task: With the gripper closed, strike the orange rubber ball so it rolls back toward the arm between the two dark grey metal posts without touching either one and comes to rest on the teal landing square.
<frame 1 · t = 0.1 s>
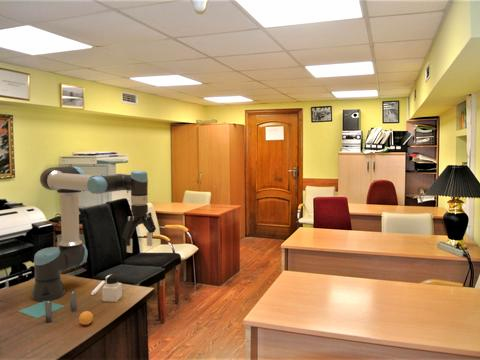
hand: (139, 249, 182), 28 cm above the table, tool pointing down, fingers open, 13 cm apart
marker: (97, 290, 205), on the table
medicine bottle: (112, 299, 193), on the table
ball: (86, 317, 165), on the table
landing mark: (41, 309, 180), on the table
post 2: (73, 310, 179), on the table
post 1: (48, 321, 168), on the table
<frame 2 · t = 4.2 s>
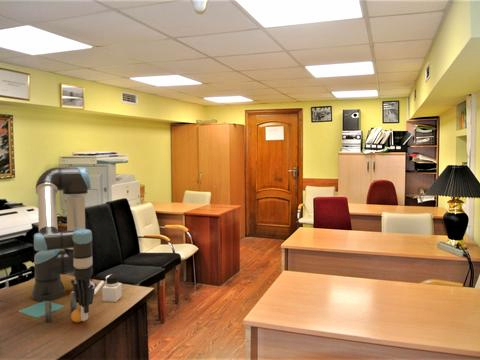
hand: (84, 319, 167), 2 cm above the table, tool pointing down, fingers closed
ball: (78, 315, 168), on the table, touching gripper
everything else where it was.
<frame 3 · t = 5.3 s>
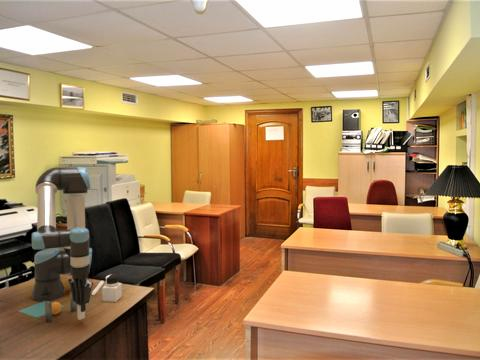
hand: (81, 318, 167), 2 cm above the table, tool pointing down, fingers closed
ball: (54, 308, 175), on the table
everything else where it was.
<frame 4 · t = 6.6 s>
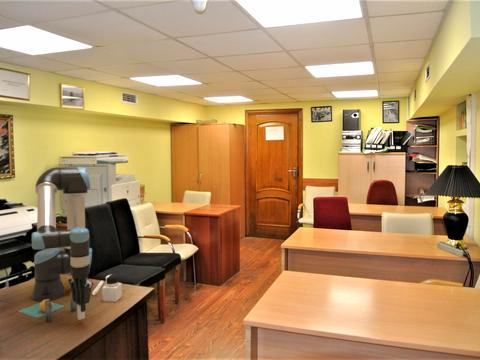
hand: (81, 318, 167), 2 cm above the table, tool pointing down, fingers closed
ball: (46, 305, 177), on the table
everything else where it was.
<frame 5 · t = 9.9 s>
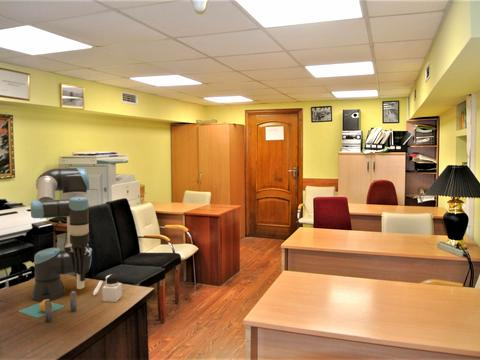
hand: (80, 287, 166), 15 cm above the table, tool pointing down, fingers closed
nothing on the table moved.
at the end: ball 4.1 cm from the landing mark (horizontally); ball never touched post 2; ball never touched post 1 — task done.
